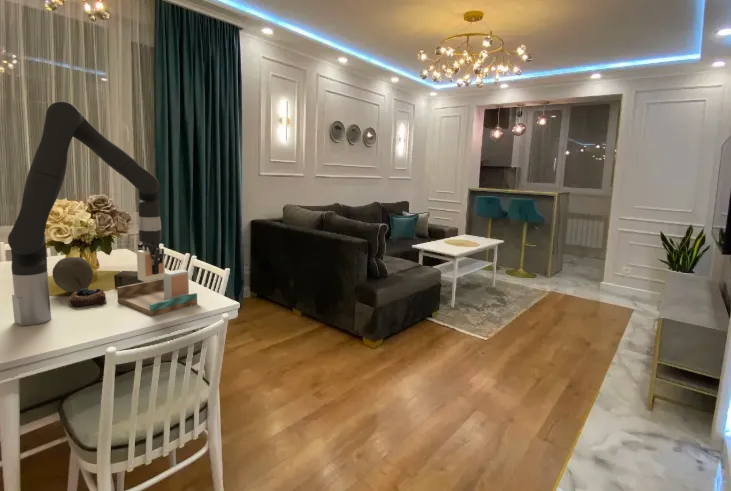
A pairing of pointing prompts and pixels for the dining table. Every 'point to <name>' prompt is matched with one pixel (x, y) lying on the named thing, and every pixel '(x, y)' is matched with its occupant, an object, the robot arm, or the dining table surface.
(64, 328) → the dining table surface
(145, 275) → the tea box
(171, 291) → the faced tea box
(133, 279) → the dark brown box
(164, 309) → the wooden tray
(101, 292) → the pastry
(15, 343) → the dining table surface
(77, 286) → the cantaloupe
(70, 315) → the dining table surface
